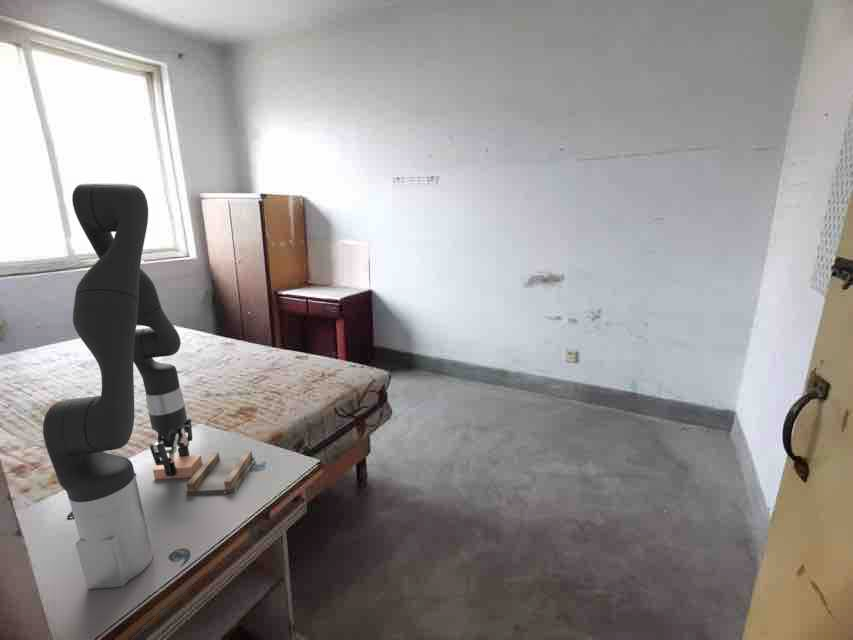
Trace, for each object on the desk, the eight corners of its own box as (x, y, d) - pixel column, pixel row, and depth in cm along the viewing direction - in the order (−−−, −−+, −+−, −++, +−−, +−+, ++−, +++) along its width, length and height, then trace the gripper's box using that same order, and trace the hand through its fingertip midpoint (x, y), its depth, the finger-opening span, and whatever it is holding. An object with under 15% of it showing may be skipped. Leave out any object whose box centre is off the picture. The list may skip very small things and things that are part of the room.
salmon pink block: (202, 465, 107) (200, 454, 106) (192, 477, 101) (190, 467, 101) (167, 467, 106) (165, 457, 105) (155, 480, 101) (152, 469, 100)
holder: (234, 492, 95) (232, 481, 94) (186, 495, 94) (184, 484, 94) (255, 460, 107) (253, 450, 107) (212, 463, 107) (210, 452, 106)
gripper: (165, 420, 93) (178, 484, 97) (196, 394, 107) (207, 451, 111) (131, 421, 92) (145, 486, 96) (167, 395, 106) (179, 452, 110)
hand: (178, 467), depth 103 cm, fingers open, 5 cm apart
